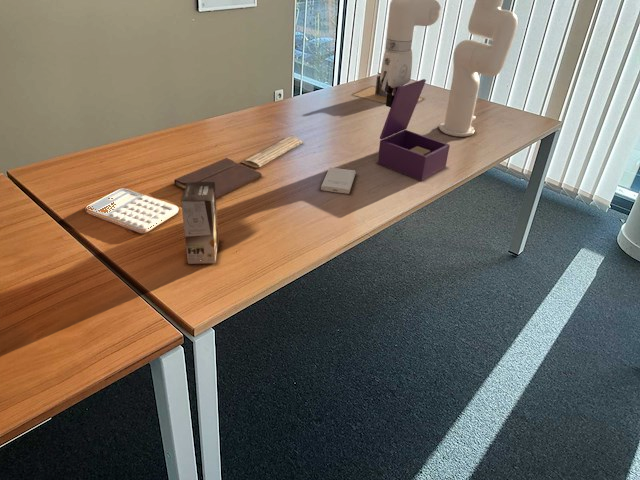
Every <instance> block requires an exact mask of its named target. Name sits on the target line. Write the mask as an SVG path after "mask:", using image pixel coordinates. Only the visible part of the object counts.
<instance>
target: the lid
mask: <svg viewBox="0 0 640 480" xmlns="http://www.w3.org/2000/svg"><path fill="white" fill-rule="evenodd" d="M426 82H427V79H425V78H422V79H419V80H417V81H414V82H411V83H407V84H405V85H403V86H402V87H399V88H398V89H397V92H396V95H395V97H394V100H393V103H392V106H391V107H389V112H388V113H387V117H386V119H385V122H384V124H383V127H382V129H381V130H382V131H381V133H380V135H379V140H383V139H385V138H387V137H390V136H392V135H394V134H397V133H399V132H401V131H404V130H408V126H409V124H410V121H411V119H412V116H413V114H414V111H415V109H416V106H417V104H418V102H419V101H418V99H419V98H421V94H422V92H423V89H424V87H425V85H426Z"/></svg>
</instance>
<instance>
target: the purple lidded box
mask: <svg viewBox="0 0 640 480" xmlns="http://www.w3.org/2000/svg"><path fill="white" fill-rule="evenodd" d="M379 140H380V141H379V148H378V157H377V165H380V166H382V167H384V168H388V169H390V170H393V171H395V172H398V173H401V174H402V175H406V176H407V177H410V178H413V179H416V180H418V181H420V182H423V181H424V180H426V179H428V178H430V177H431V176H434V175H435V174H437V173H439V172H441V171H442V170H445V169H446V167H447V162H448V157H449V151H450V147H451V145H450V144H448V143H445V142H443V141H439V140H437V139H434V138H431V137H428V136H425V135H422V134H419V133H416V132H414V131H411V130H408V129H405V130H403V131H400V132H398V133H396V134H393V135H391V136H389V137H386V138H384V139H382V140H381V139H379ZM416 146H418V147H421V148H424V149H427V150H430V151H431V153H429V154H427V155H425V156H424V155H422V154H419V153H416V152H413V151H411V150H410V149H412V148H414V147H416Z"/></svg>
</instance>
